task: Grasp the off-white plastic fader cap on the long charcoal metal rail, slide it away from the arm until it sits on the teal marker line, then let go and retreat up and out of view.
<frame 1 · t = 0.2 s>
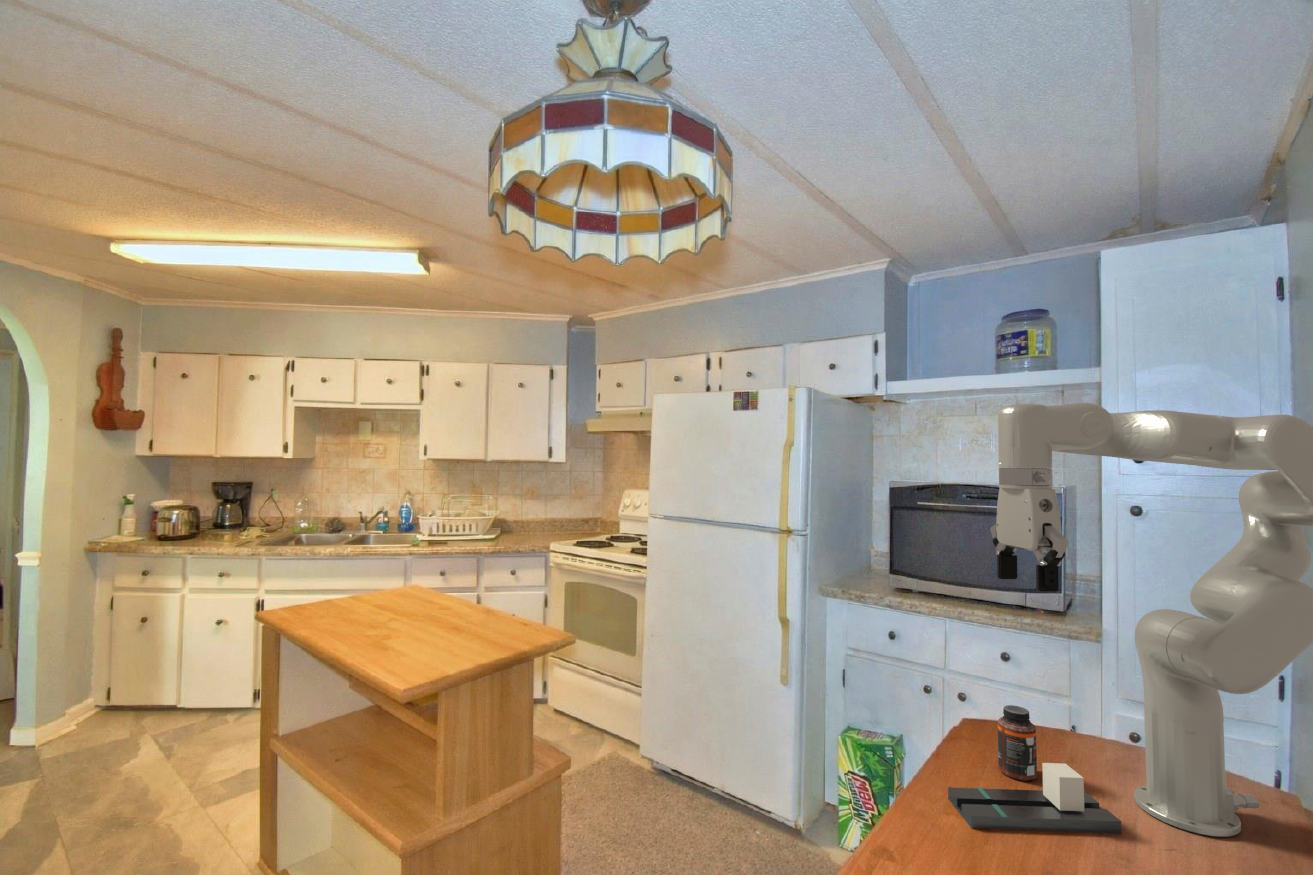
hand: (1026, 584, 97), 36 cm above the table, tool pointing down, fingers open, 9 cm apart
fader tab: (1062, 790, 94), point 4 cm above the table, slide at 0.0 cm
fader housing: (1030, 815, 94), on the table
supplement bottle: (1017, 774, 106), on the table
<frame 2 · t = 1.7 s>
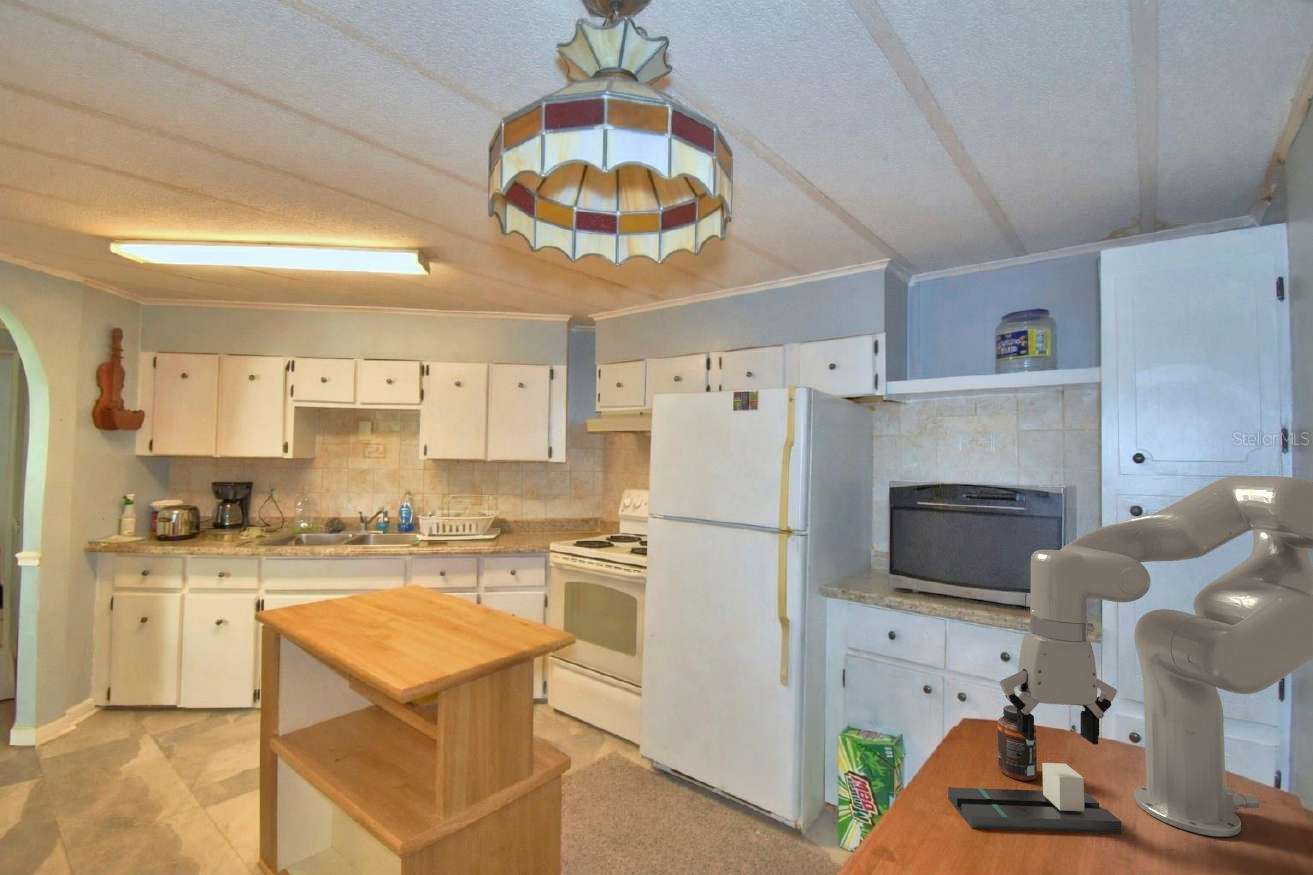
hand: (1057, 738, 94), 12 cm above the table, tool pointing down, fingers open, 9 cm apart
nothing on the table moved.
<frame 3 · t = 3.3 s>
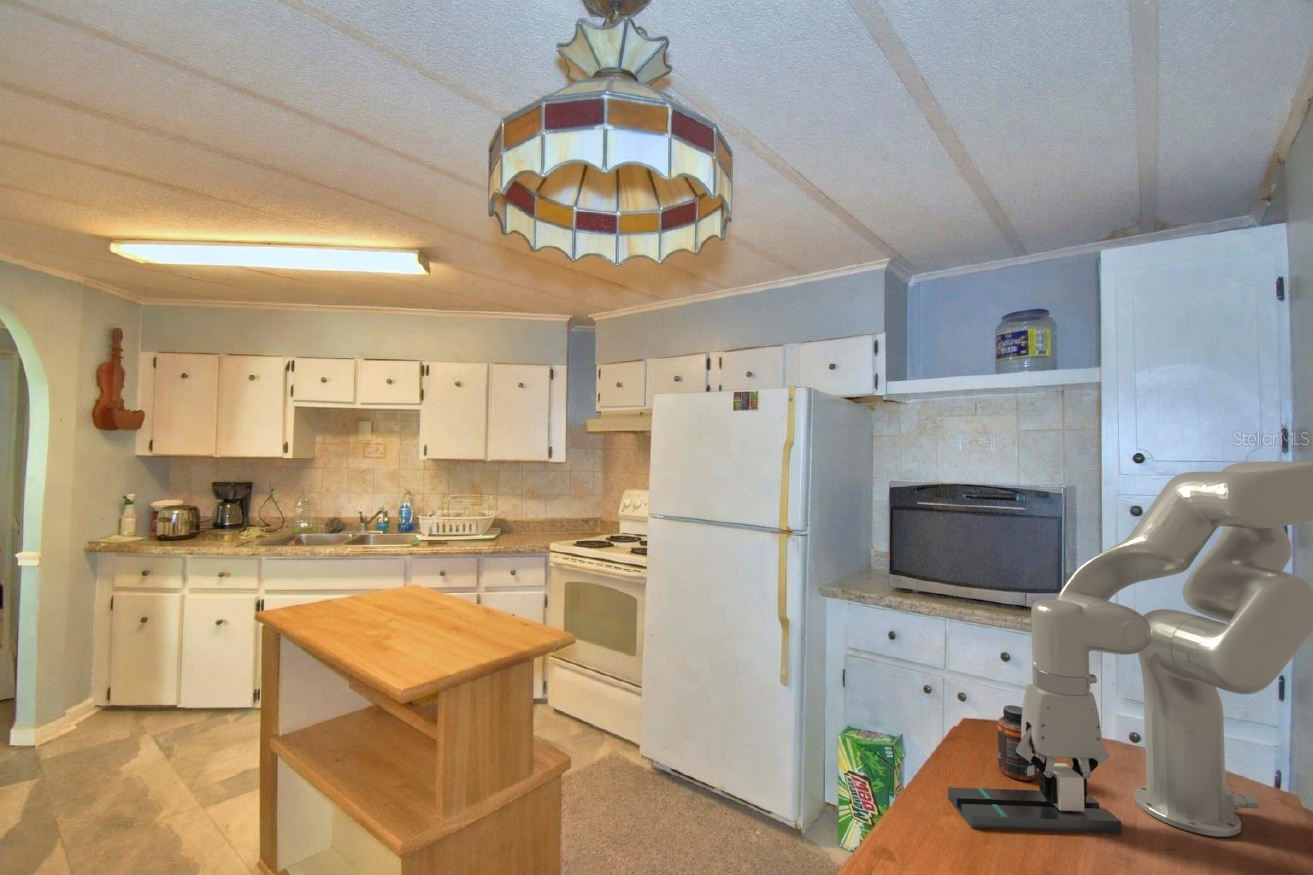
hand: (1063, 798, 93), 3 cm above the table, tool pointing down, fingers closed on fader tab, 3 cm apart
fader tab: (1062, 790, 94), point 4 cm above the table, slide at 0.0 cm, touching gripper
everything else where it was.
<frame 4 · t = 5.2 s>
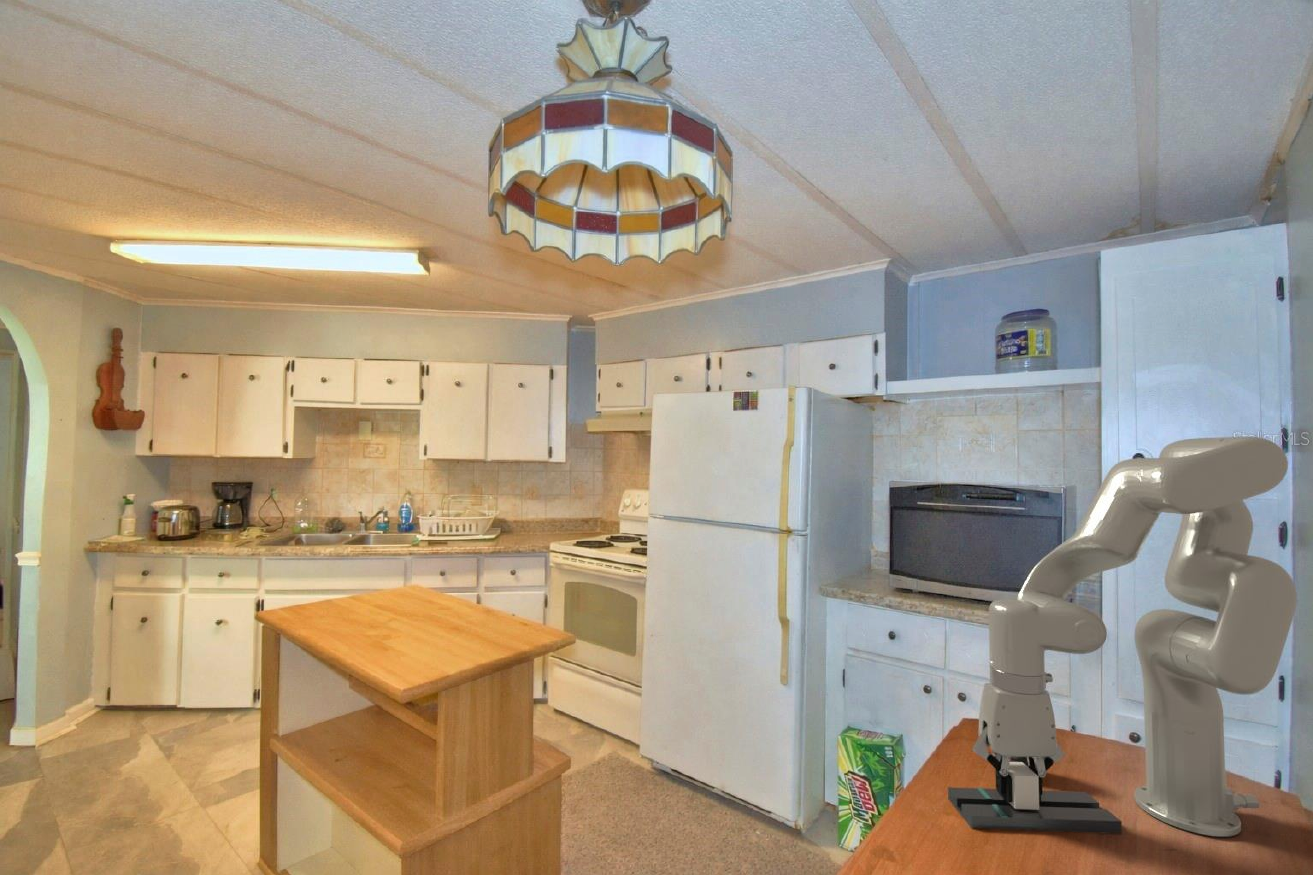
hand: (1018, 796, 94), 3 cm above the table, tool pointing down, fingers closed on fader tab, 3 cm apart
fader tab: (1018, 788, 94), point 4 cm above the table, slide at 6.7 cm, touching gripper
everything else where it was.
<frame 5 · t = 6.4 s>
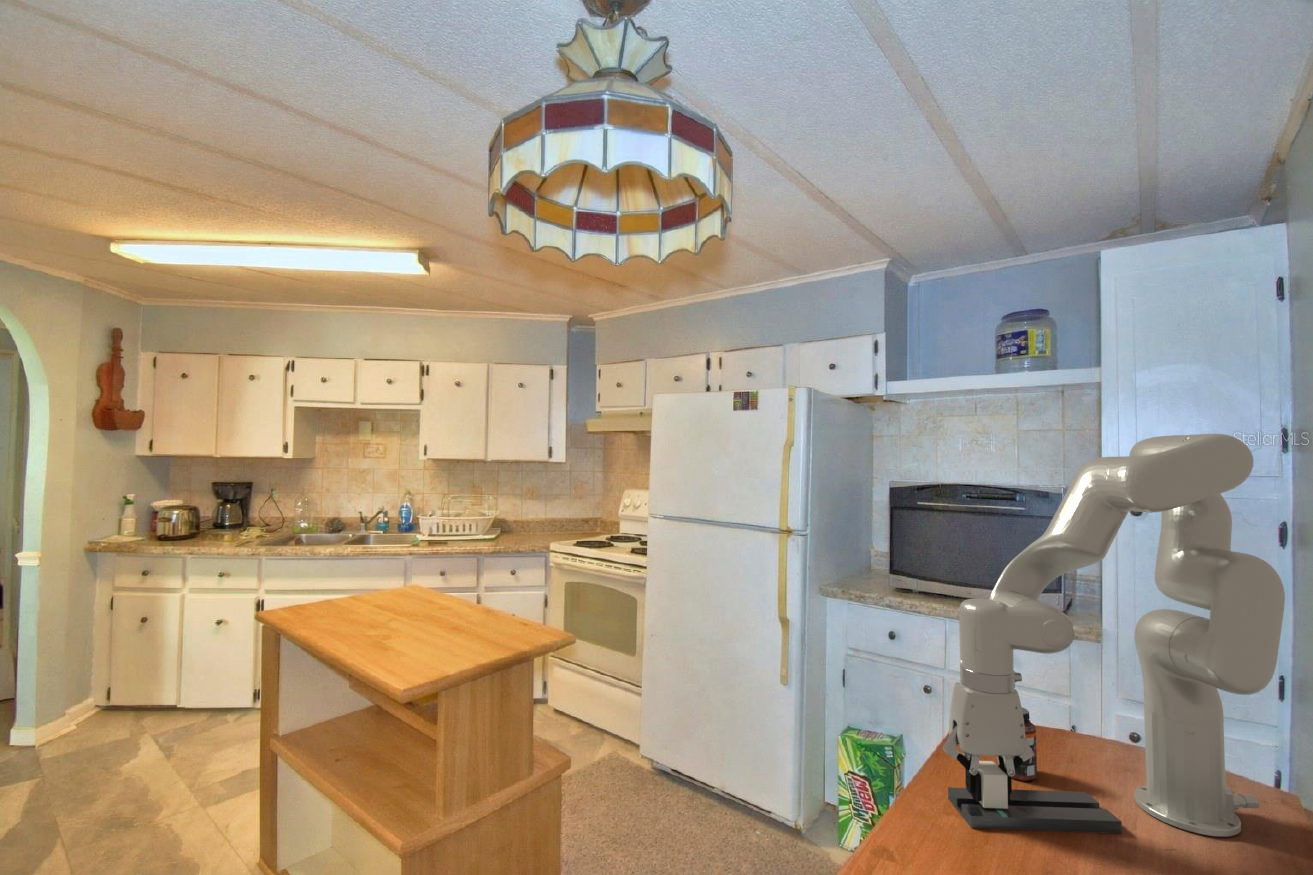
hand: (988, 795, 94), 3 cm above the table, tool pointing down, fingers closed on fader tab, 3 cm apart
fader tab: (988, 787, 94), point 4 cm above the table, slide at 11.4 cm, touching gripper
everything else where it was.
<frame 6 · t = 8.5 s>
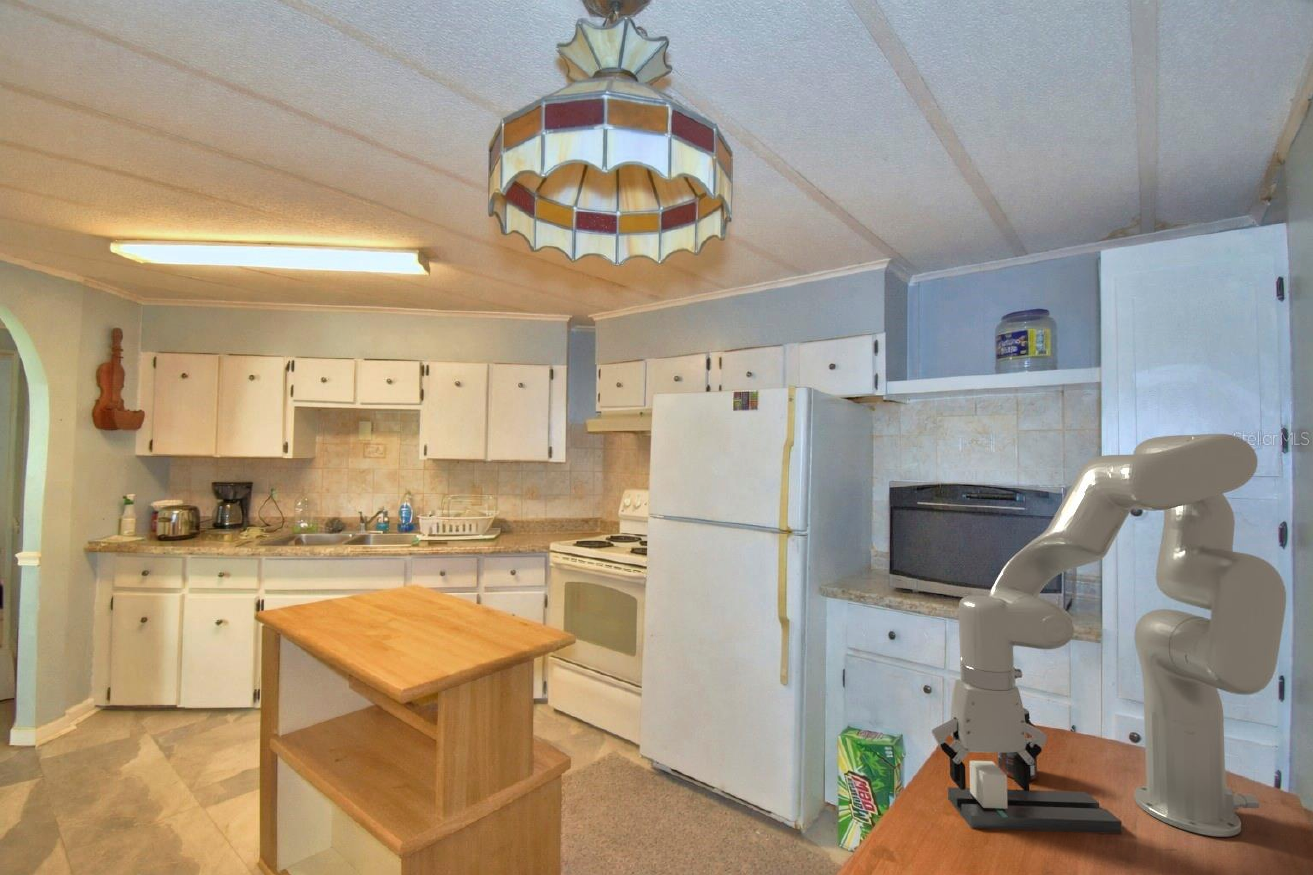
hand: (990, 785, 94), 4 cm above the table, tool pointing down, fingers open, 9 cm apart
fader tab: (988, 787, 94), point 4 cm above the table, slide at 11.5 cm
everything else where it was.
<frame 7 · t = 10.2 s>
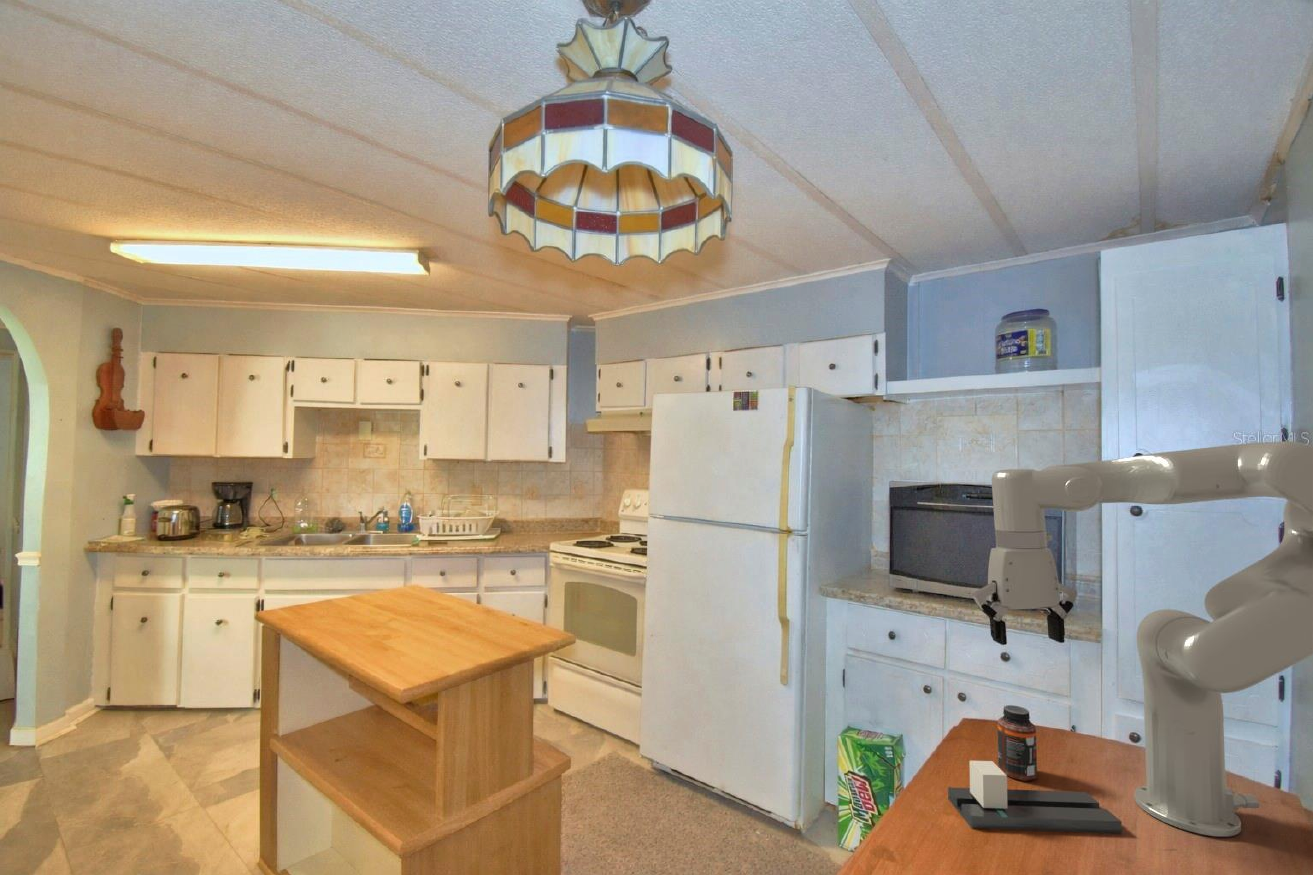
hand: (1028, 641, 101), 25 cm above the table, tool pointing down, fingers open, 9 cm apart
nothing on the table moved.
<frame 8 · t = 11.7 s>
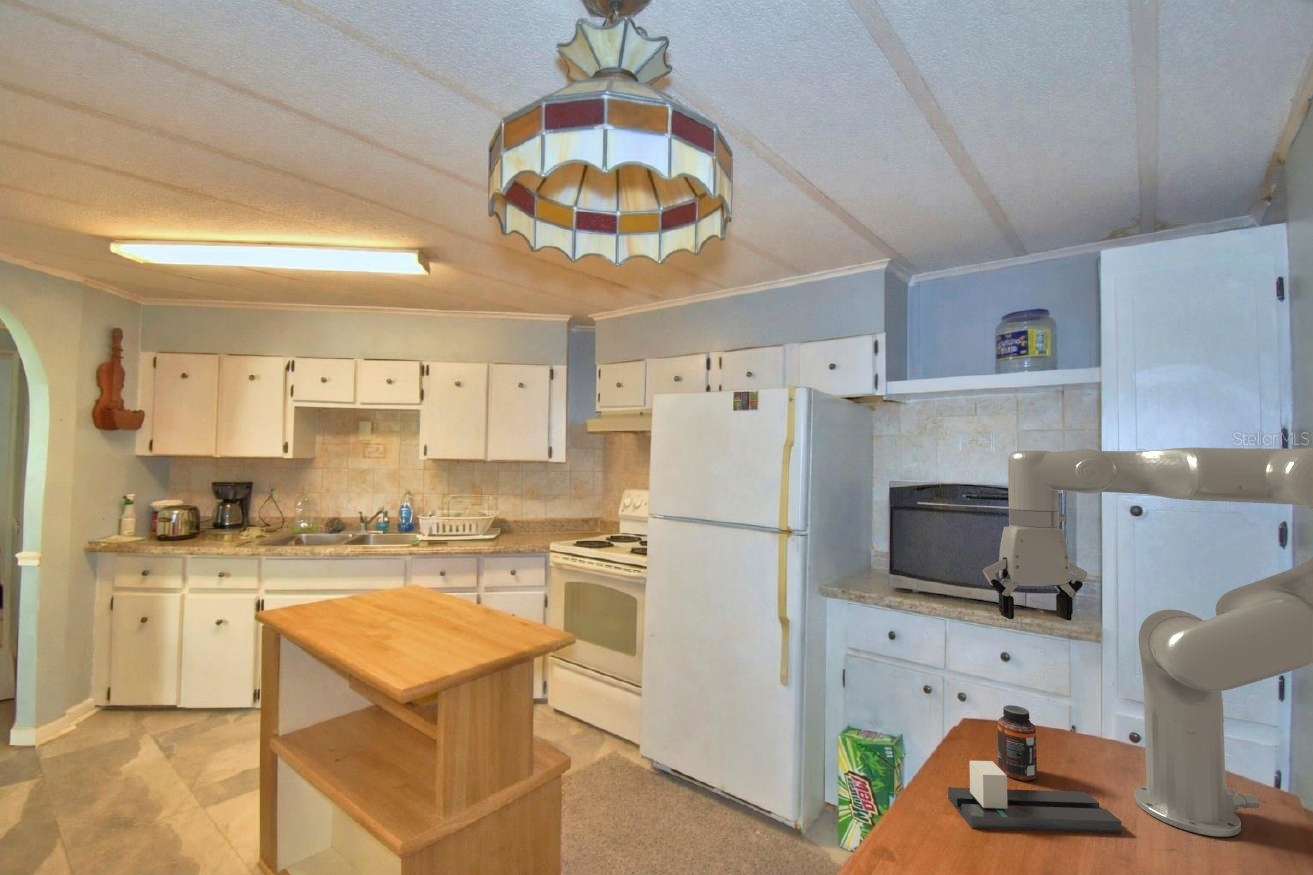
hand: (1035, 617, 104), 28 cm above the table, tool pointing down, fingers open, 9 cm apart
nothing on the table moved.
at the end: fader tab slide at 11.5 cm; the gripper is holding nothing; supplement bottle moved 0.2 cm from its start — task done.
